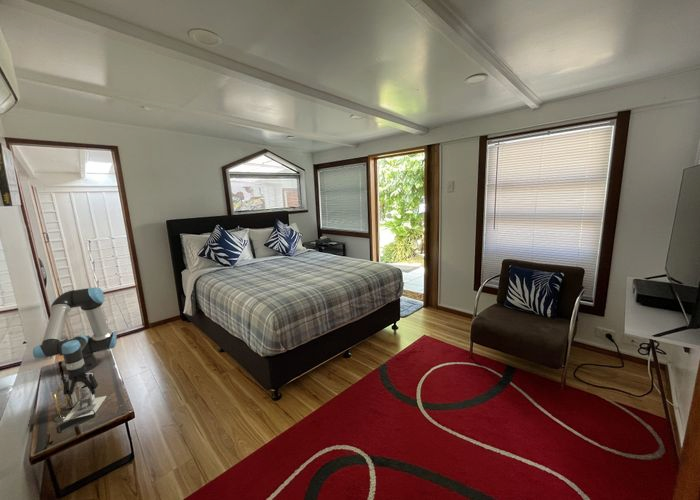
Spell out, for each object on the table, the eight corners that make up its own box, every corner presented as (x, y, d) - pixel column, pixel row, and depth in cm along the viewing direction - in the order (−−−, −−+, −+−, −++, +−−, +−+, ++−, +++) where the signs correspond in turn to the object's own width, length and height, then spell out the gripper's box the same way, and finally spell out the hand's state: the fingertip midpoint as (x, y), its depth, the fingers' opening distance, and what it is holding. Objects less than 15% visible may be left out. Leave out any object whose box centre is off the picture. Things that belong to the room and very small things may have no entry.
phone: (96, 415, 162) (59, 432, 150) (96, 417, 162) (59, 434, 151) (93, 409, 167) (57, 425, 155) (93, 410, 167) (58, 426, 155)
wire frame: (68, 404, 172) (62, 381, 169) (78, 402, 174) (72, 379, 170) (52, 422, 158) (45, 397, 155) (63, 420, 160) (57, 395, 156)
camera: (94, 380, 174) (89, 394, 162) (98, 396, 177) (93, 412, 165) (75, 386, 170) (69, 401, 157) (80, 402, 172) (73, 418, 160)
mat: (78, 402, 173) (78, 401, 173) (106, 396, 178) (106, 395, 178) (63, 421, 158) (62, 420, 158) (93, 414, 163) (93, 413, 163)
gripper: (48, 374, 156) (58, 410, 160) (94, 366, 162) (102, 400, 167) (57, 367, 163) (66, 401, 167) (100, 359, 169) (108, 392, 174)
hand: (84, 400), depth 167 cm, fingers open, 8 cm apart
